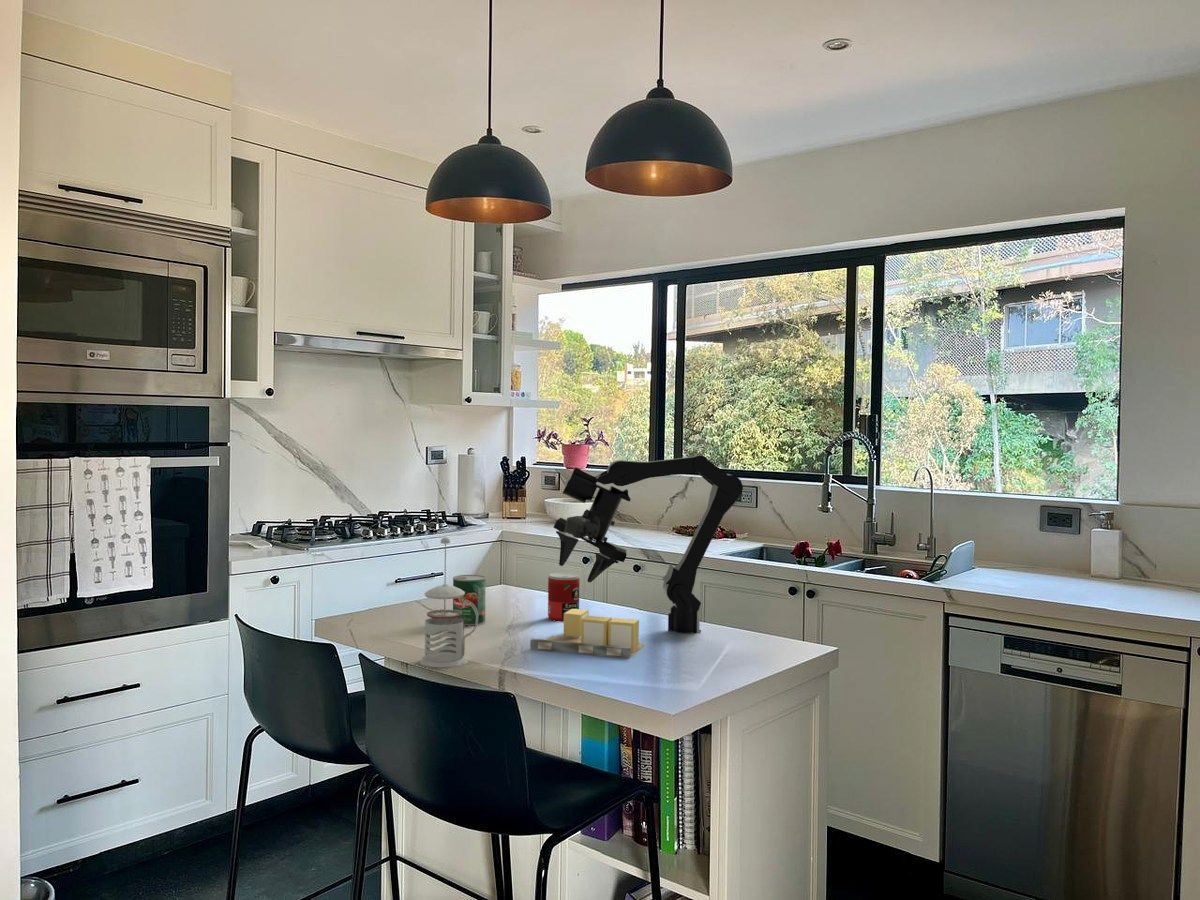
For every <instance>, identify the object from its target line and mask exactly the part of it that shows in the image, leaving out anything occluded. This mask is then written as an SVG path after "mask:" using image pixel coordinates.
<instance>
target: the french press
mask: <svg viewBox="0 0 1200 900" xmlns="http://www.w3.org/2000/svg"><path fill="white" fill-rule="evenodd" d="M440 544H444V583H443V584H441V585H437V586H434V587H433V588H430V589H429V590H427V591H425V592H424V596H425V597H426V598H427V599H433V600H443V601H444V602H443V603H444V604H443V607H444V609H440V608H439V609H433V610H430V611H428V612H427V613H426V616H427V617H429V618H427V619H425V621H424V625H425V626H424V627H425V628H424V656H423V657H422V658H421V659H420V660H419V664H420V665H423V666H424V667H430V668H452V667H460V666H463V665H465V664H467V663H469V658H468V657H467V656H466V655H465V647H466V645H465V644H466V643H465V640H466V639H465V638H467V637H469V636H471V634H473V633H474V632H475V631H476V628H477V627H478V625H477V624H478V611H477V609H476V606H475V605H474V604H473V603H472V602H470V601H468V600H464V602H463V603H462V604H463V608H464V607H465V603H467V604H469V605H470V606H471V607H472V608H473V609H474V607H475V609H476V611H475V609H474V611H475V614H476V625H475V626H474V628H473V629H472V630H471V631H470V632H468V633H466V634H465V635H464V633H465V631H464V630H465V629H464V627H465V626H464V619H462V618H458V617H460V616H461V615H462V614H463V613H462V612H461V611H459V610H453V609H447V608H446V600H453V599H455V598H460V597H463V596H464V595H465V592H464V591H463V590H461V589H459V588H457V587H454V586H453V585H448V584H446V577H447V576H446V571H447V570H446V569H447V568H446V567H447V566H446V565H447V563H446V562H447V559H446V558H447V544H451V539H450V538H449V537H442V538H441V539H440ZM466 601H468V602H470V603H471V604H472V605H473V606H474V607H473V606H472V605H471V604H470V603H468V602H466ZM476 612H477V613H476ZM453 622H455V623H458V624H454V623H453ZM447 623H451V624H447ZM445 631H447V632H445ZM443 632H445V633H443ZM435 635H436V636H435ZM431 636H434V637H431ZM443 638H445V639H443ZM441 639H443V640H441ZM436 641H437V642H436ZM431 642H435V643H431ZM444 644H445V645H444ZM441 645H443V646H441ZM438 646H441V647H438ZM436 647H438V648H436ZM431 648H432V649H431ZM433 648H436V649H433Z"/></svg>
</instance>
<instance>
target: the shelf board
mask: <svg viewBox="0 0 1200 900" xmlns="http://www.w3.org/2000/svg"><path fill="white" fill-rule="evenodd" d="M529 643H530V645H529V646H530V647H529V649H530V650H534V651H543V652H544V651H545V652H555V653H564V654H565V653H566V654H567V653H568V654H577V655H588V656H597V657H609V658H621V659H627V660H628V659H629V660H630V658H632V657H633V656H634V655H636V653H638V651H640V650H641V649H642V648H644V646H645V645H646V643H642V642H640V643H639V648H638V649H637V650H636V651H634V652H631V647H621V646H610V645H599V644H588V643H581V637H574V636H561V635H560V636H559V635H551V636H549V637H548V638H546V639H543V638H541V639H540V638H530V640H529Z"/></svg>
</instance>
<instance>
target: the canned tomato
mask: <svg viewBox="0 0 1200 900" xmlns="http://www.w3.org/2000/svg"><path fill="white" fill-rule="evenodd" d="M486 579H487V578H486V576H484V575H480V574H460V575H455V576H453V577H452V586H454V587H457V588H459V589H461V590H463V591H464V592H465V595H464V596H463V597H460V598H455V599H452V610H459V611H461V612H462V613H463V614H462V615H461V616H460V617H458V618H462V619H464V625H476V614H475V611H476V609H477V611H478V624H477V626H480V625H479V624H481V625H484V624H485V623H486V586H487V583H486ZM464 600H468V601H470V602H472V603H473V604H474V605H475V606H476V609H475V607H474V606H473V605H472V604H471V603H470V602H468V601H466V602H468V603H470V604H471V605H472V606H473V607H474V609H475V611H474V609H473V608H472V607H471V606H470V605H469V604H467V603H465V607H464V608H463V604H462V603H463V602H464ZM476 613H477V612H476ZM483 623H484V624H483ZM452 624H458V623H455V622H452Z"/></svg>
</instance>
